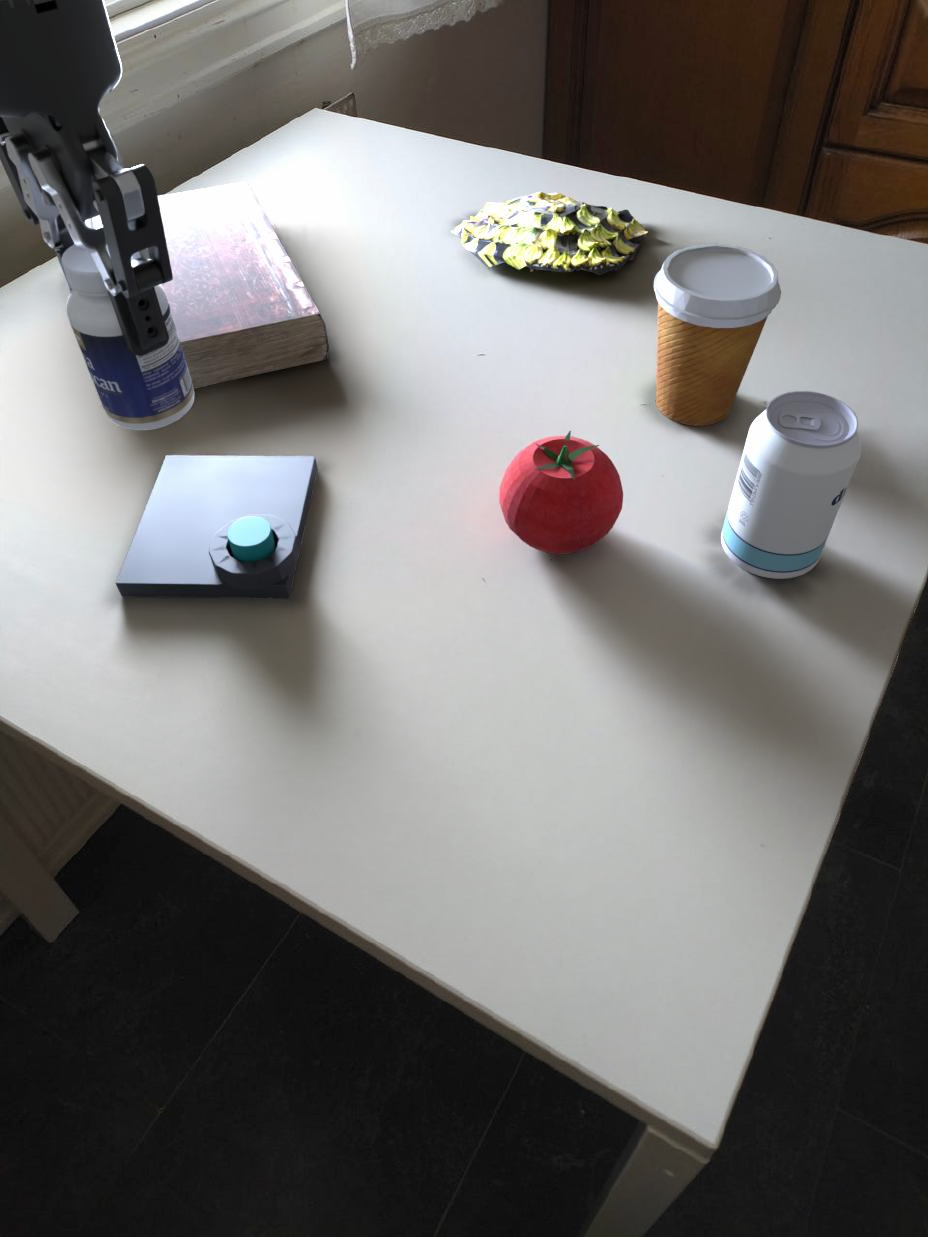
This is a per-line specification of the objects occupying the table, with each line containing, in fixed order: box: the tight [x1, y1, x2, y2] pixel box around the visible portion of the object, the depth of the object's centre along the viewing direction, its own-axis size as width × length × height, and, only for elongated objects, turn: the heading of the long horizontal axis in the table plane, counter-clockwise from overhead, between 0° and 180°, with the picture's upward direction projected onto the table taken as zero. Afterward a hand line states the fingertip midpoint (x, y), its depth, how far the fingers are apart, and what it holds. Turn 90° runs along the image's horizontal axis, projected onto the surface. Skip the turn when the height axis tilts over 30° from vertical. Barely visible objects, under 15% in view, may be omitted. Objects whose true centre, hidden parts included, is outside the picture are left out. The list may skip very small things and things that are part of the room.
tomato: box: [498, 430, 624, 555], centre depth 64 cm, size 9×9×8 cm
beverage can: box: [720, 390, 862, 580], centre depth 61 cm, size 7×7×12 cm
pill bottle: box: [61, 244, 195, 431], centre depth 51 cm, size 5×5×10 cm
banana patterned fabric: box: [450, 191, 649, 276], centre depth 94 cm, size 20×16×7 cm
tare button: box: [227, 517, 275, 562], centre depth 62 cm, size 3×3×2 cm
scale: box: [115, 454, 319, 600], centre depth 67 cm, size 14×12×3 cm
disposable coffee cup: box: [653, 243, 782, 427], centre depth 72 cm, size 10×10×12 cm
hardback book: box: [92, 180, 330, 389], centre depth 87 cm, size 29×19×5 cm, turn 22°
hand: (123, 325), depth 51 cm, fingers closed on pill bottle, 5 cm apart
